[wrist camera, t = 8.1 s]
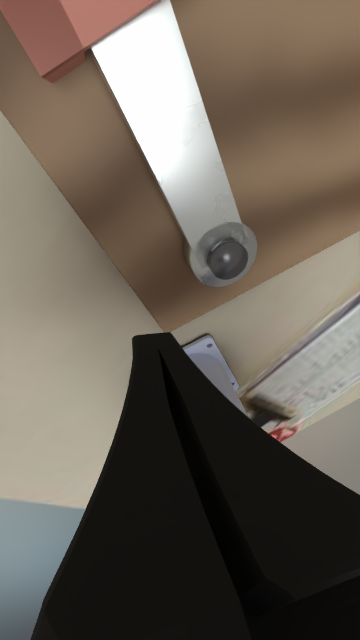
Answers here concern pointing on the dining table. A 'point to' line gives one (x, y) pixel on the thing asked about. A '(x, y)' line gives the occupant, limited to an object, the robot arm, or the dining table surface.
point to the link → (176, 141)
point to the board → (230, 136)
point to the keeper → (66, 28)
